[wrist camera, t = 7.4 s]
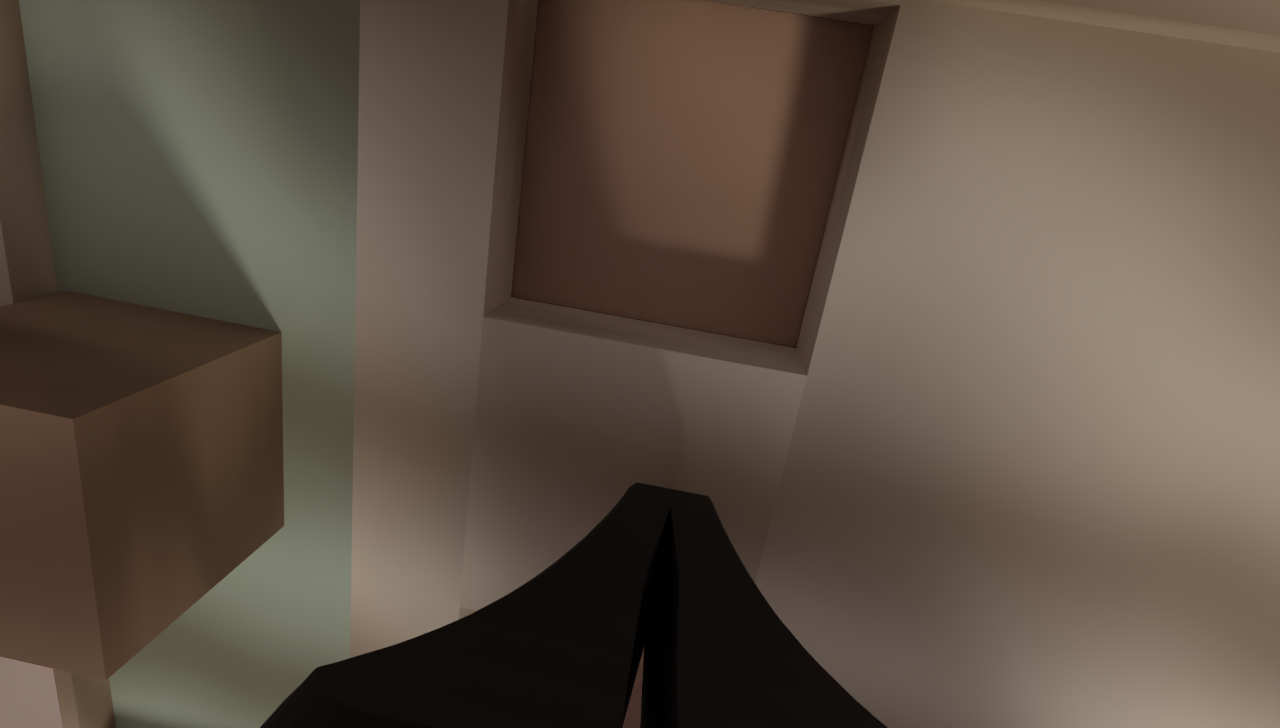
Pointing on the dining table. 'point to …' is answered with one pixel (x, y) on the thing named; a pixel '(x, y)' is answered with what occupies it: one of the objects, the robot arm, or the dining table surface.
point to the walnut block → (127, 471)
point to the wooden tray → (711, 345)
